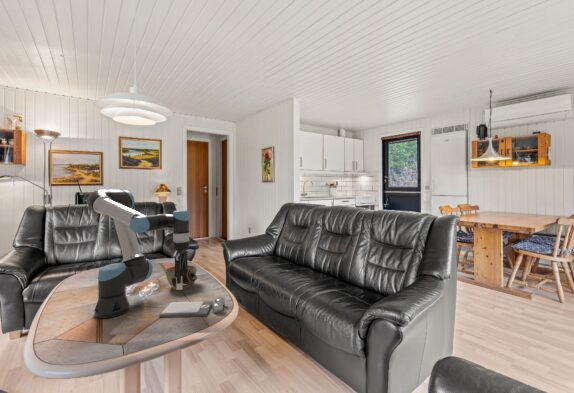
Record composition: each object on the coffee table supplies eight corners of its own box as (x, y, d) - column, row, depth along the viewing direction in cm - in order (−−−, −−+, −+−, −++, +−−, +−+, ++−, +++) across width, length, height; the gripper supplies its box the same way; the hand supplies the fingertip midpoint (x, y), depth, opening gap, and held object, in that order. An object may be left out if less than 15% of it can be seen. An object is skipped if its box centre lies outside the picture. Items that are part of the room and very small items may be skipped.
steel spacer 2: (211, 314, 135) (211, 306, 135) (213, 309, 140) (213, 302, 140) (222, 313, 135) (222, 305, 135) (223, 309, 140) (223, 301, 140)
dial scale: (159, 317, 131) (159, 313, 131) (170, 304, 146) (170, 301, 146) (206, 315, 133) (206, 312, 133) (212, 303, 148) (212, 300, 148)
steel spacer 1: (214, 308, 141) (214, 300, 141) (215, 304, 146) (215, 297, 146) (224, 308, 142) (224, 300, 142) (225, 304, 147) (225, 296, 146)
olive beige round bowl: (178, 295, 159) (178, 274, 159) (159, 289, 168) (159, 269, 168) (202, 286, 174) (202, 267, 174) (184, 281, 184) (184, 263, 184)
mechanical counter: (194, 290, 135) (194, 270, 135) (167, 291, 135) (167, 270, 135) (198, 285, 143) (197, 266, 142) (172, 286, 142) (172, 266, 142)
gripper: (183, 244, 129) (183, 293, 130) (193, 238, 148) (194, 281, 149) (166, 244, 129) (167, 294, 129) (179, 238, 148) (179, 281, 148)
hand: (181, 287), depth 139 cm, fingers closed on mechanical counter, 6 cm apart
